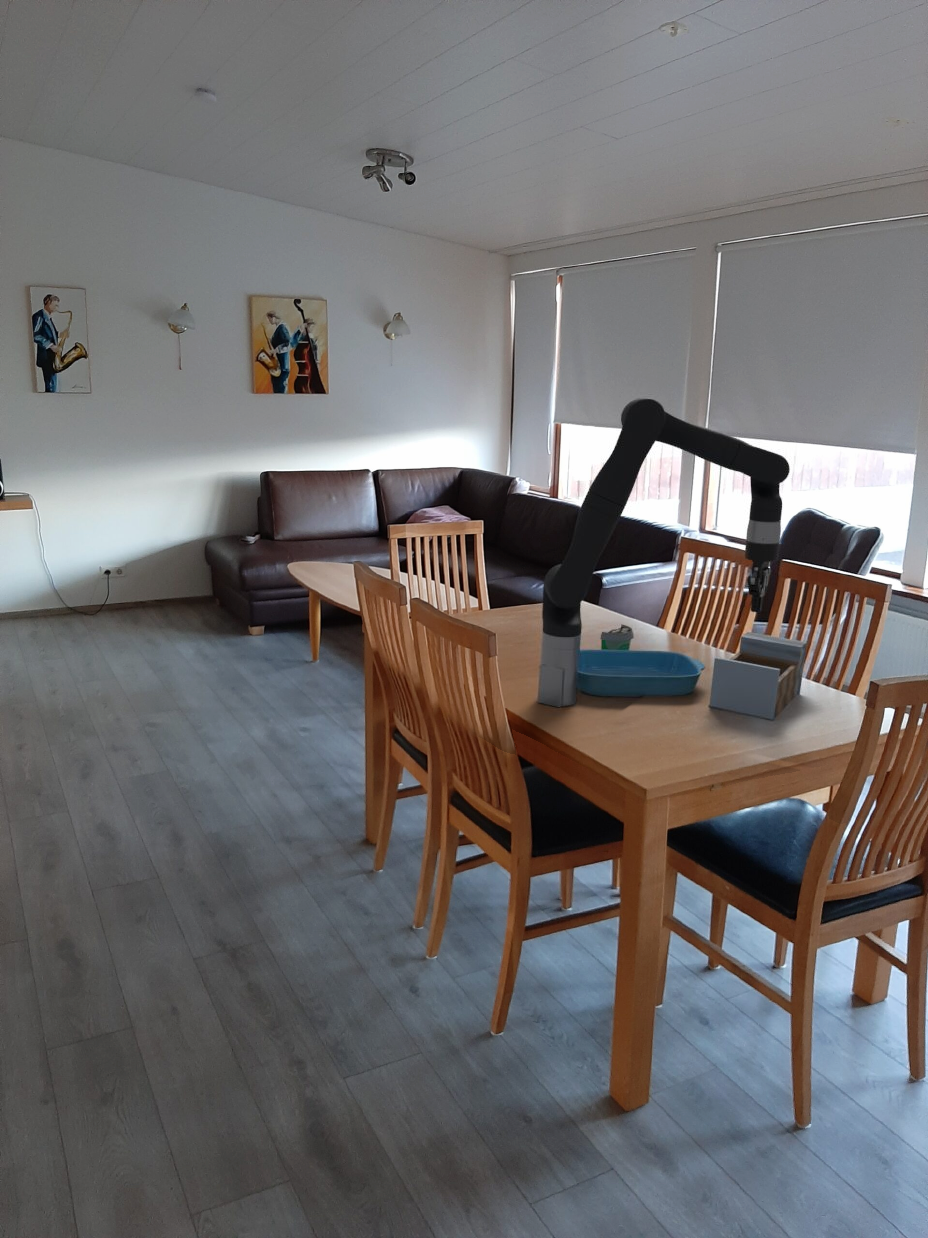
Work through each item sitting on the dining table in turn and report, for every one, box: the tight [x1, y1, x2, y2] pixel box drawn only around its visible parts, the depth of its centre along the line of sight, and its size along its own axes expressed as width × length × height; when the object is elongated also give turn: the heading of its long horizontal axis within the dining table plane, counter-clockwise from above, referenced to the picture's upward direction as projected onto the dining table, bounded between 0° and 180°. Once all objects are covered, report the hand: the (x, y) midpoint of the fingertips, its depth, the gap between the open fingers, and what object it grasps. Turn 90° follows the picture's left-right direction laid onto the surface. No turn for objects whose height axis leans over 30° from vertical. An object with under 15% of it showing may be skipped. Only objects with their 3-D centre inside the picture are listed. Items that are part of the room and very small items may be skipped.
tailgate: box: [707, 656, 780, 722], centre depth 222 cm, size 1×16×13 cm, turn 58°
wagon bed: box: [729, 631, 808, 719], centre depth 233 cm, size 26×15×14 cm, turn 148°
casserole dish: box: [577, 648, 706, 698], centre depth 242 cm, size 37×22×7 cm, turn 92°
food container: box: [599, 624, 635, 650], centre depth 260 cm, size 12×6×10 cm, turn 143°
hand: (755, 611), depth 224 cm, fingers closed
